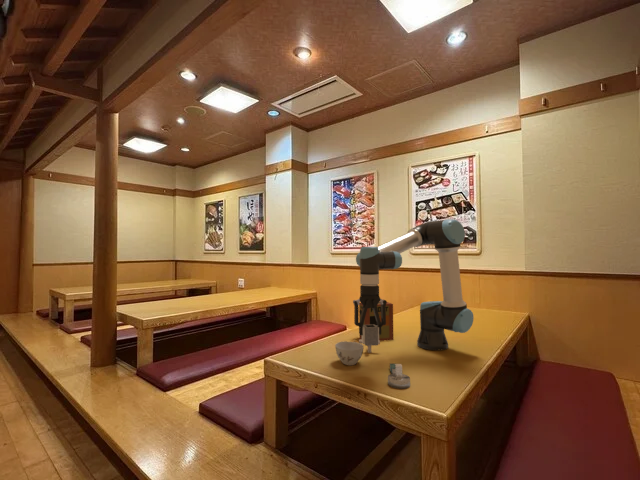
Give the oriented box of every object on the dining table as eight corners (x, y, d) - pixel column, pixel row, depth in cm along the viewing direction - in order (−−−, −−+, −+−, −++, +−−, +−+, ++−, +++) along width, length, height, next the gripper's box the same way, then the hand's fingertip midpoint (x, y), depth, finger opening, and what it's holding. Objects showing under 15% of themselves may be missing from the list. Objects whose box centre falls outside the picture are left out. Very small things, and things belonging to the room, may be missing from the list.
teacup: (354, 370, 132) (354, 351, 133) (329, 364, 140) (329, 346, 140) (371, 360, 145) (371, 342, 145) (347, 355, 152) (347, 338, 152)
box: (365, 342, 174) (364, 305, 175) (359, 337, 183) (359, 302, 184) (393, 339, 178) (392, 303, 179) (386, 335, 187) (386, 301, 188)
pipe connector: (379, 356, 150) (379, 334, 151) (358, 354, 152) (358, 333, 153) (380, 349, 160) (379, 329, 160) (360, 348, 162) (359, 328, 162)
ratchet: (403, 369, 133) (403, 352, 134) (411, 389, 114) (411, 369, 114) (384, 368, 134) (383, 351, 135) (389, 388, 115) (388, 368, 115)
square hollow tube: (378, 345, 126) (377, 327, 126) (365, 345, 125) (365, 327, 125) (374, 341, 131) (374, 324, 131) (362, 342, 130) (362, 324, 130)
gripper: (388, 283, 133) (389, 339, 133) (345, 284, 132) (346, 341, 131) (394, 285, 126) (395, 344, 125) (349, 286, 124) (349, 346, 123)
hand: (370, 342), depth 128 cm, fingers closed on square hollow tube, 5 cm apart
